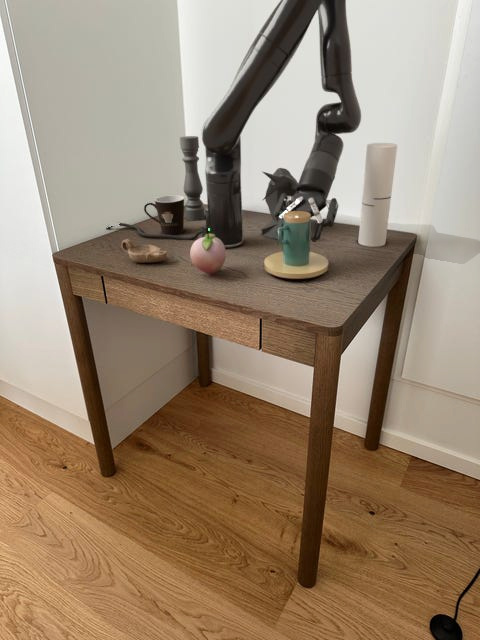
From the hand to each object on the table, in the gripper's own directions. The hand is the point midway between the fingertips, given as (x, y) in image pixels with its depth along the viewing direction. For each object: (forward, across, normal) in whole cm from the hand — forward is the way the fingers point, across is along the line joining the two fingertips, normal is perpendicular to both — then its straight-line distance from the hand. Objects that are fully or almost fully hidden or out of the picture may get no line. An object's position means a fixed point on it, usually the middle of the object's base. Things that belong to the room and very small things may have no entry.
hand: (295, 238), depth 104 cm
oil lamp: (+13, -38, -2) cm, 40 cm away
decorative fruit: (+13, -17, -2) cm, 22 cm away
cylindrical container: (-14, +10, +26) cm, 31 cm away
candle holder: (-14, -49, +25) cm, 57 cm away
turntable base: (+5, 0, +6) cm, 8 cm away
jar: (+5, 0, +6) cm, 7 cm away
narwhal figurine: (-14, -18, +26) cm, 34 cm away
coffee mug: (-3, -48, +14) cm, 50 cm away
